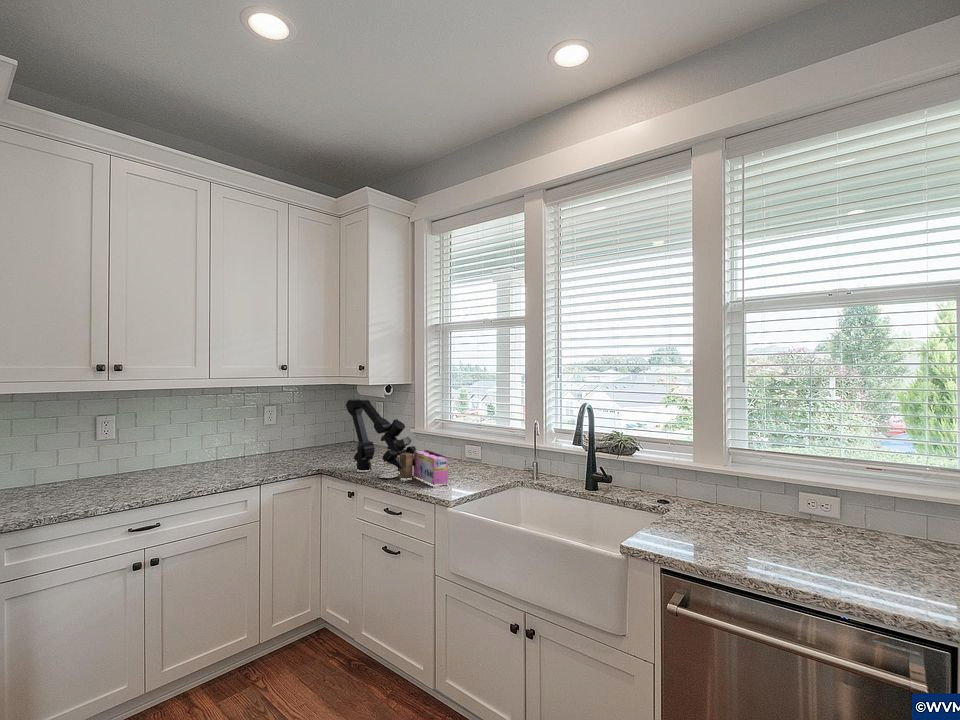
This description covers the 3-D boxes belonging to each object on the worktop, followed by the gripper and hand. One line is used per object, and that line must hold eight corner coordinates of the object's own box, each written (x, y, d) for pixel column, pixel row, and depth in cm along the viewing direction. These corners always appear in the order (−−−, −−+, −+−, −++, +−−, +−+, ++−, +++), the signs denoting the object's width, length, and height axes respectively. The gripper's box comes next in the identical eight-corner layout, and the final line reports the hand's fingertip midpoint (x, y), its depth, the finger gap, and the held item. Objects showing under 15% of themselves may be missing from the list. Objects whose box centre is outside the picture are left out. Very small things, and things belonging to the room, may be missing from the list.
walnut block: (399, 480, 240) (399, 454, 240) (405, 478, 244) (406, 452, 244) (406, 481, 237) (406, 455, 237) (412, 480, 241) (412, 453, 241)
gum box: (411, 477, 247) (412, 450, 247) (426, 475, 251) (426, 449, 251) (433, 488, 226) (433, 458, 227) (448, 486, 231) (448, 457, 231)
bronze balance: (384, 474, 253) (384, 455, 253) (387, 472, 257) (387, 453, 257) (410, 475, 251) (410, 456, 251) (412, 473, 255) (412, 454, 255)
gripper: (386, 434, 235) (402, 459, 229) (413, 430, 250) (429, 454, 244) (375, 448, 240) (390, 474, 233) (402, 443, 255) (418, 467, 248)
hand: (408, 467), depth 240 cm, fingers open, 8 cm apart
